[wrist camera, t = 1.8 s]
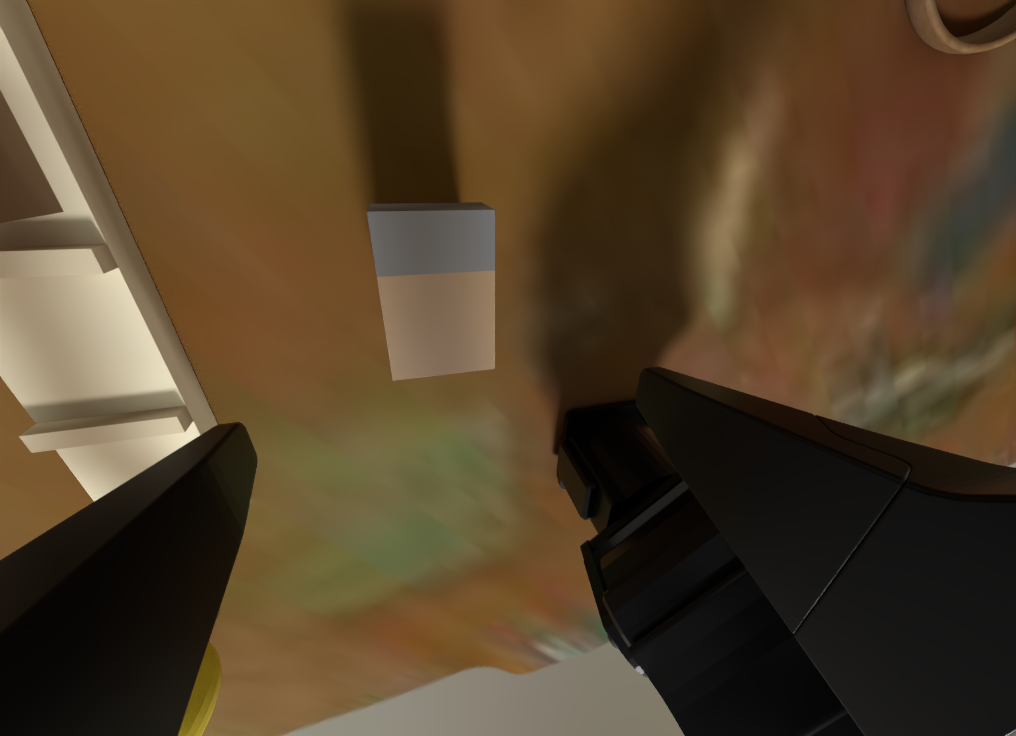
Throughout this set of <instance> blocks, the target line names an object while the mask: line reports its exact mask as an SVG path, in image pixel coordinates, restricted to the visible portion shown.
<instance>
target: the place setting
mask: <svg viewBox="0 0 1016 736" xmlns="http://www.w3.org/2000/svg"><path fill="white" fill-rule="evenodd" d="M905 7H906V10H907V13H908V17H909V20H910V22H911V24H912V26H913V28H914V30H915V32H916V33H917V34H918V35H919V37H920V38H921V39H922V40H923V41H924V42H925V43H927V44H928V45H929V46H931V47H932V48H934V49H936V50H939V51H942V52H945V53H953V54H970V53H976V52H982V51H988V50H991V49H994V48H996V47H999V46H1002V45H1004V44H1005V43H1007V42H1009V41H1011V40H1013V39H1015V38H1016V5H1015V6H1014V7H1013V8H1011V9H1010V10H1009V11H1008V12H1007V13H1005V14H1004V15H1003V16H1002V17H1000V18H999V19H998V20H996V21H995V22H993V23H992V24H990V25H989V26H987V27H985V28H983V29H981V30H979V31H977V32H975V33H972V34H969V35H966V36H961V37H954V36H953V35H952V34H950V32H949V31H948V30H947V28H946V27H945V26H944V24H943V22H942V20H941V18H940V16H939V13H938V10H937V6H936V2H935V0H905Z"/></svg>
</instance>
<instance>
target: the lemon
mask: <svg viewBox="0 0 1016 736" xmlns="http://www.w3.org/2000/svg"><path fill="white" fill-rule="evenodd" d="M220 683H221V663H220V659H219V656H218V653H217V651H216V649H215V648H214V647H213V646H212V645H211V644H210V642H208V645H207V648H206V651H205V654H204V657H203V660H202V664H201V667H200V670H199V673H198V676H197V679H196V682H195V685H194V688H193V691H192V694H191V697H190V700H189V703H188V706H187V710H186V713H185V716H184V719H183V722H182V725H181V728H180V731H179V734H178V736H201V735H202V734H203V732H204V730H205V728H206V726H207V724H208V721H209V719H210V717H211V714H212V712H213V709H214V706H215V703H216V700H217V696H218V692H219V688H220Z"/></svg>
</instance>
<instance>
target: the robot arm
mask: <svg viewBox="0 0 1016 736" xmlns="http://www.w3.org/2000/svg"><path fill="white" fill-rule="evenodd" d="M635 399H636V400H633V401H626V402H620V403H613V404H607V405H600V406H594V407H587V408H581V409H574V410H571V411H569V412H568V413H567V414H566V416H565V423H564V432H563V441H561V443H560V446H559V455H558V464H557V473H558V475H559V476H558V483H559V485H560V487H561V488H563V489H566V490H567V492H568V494H569V496H570V498H571V500H572V502H573V503H574V505H575V507H576V509H577V511H578V513H579V515H580V517H581V518H583V519H584V520H588V519H590V520H591V522H592V523H593V525H594V527H595V529H596V531H597V532H598V534H597V535H596V536H595V537H594V538H592V539H591V540H590V541H589V540H587V541H586V542H585V543H583V544H582V545H581V546H580V548H581V551H582V554H583V558H584V564H585V567H586V571H587V574H588V577H589V581H590V584H591V587H592V591H593V594H594V597H595V601H596V604H597V607H598V611H599V614H600V617H601V621H602V624H603V627H604V629H605V631H606V632H607V635H608V638H609V640H610V642H611V644H612V645H613V646H614V647H615V648H617V649H619V650H620V651H621V653H622V654H623V655H624V657H625V658H626V659H627V661H628V662H629V663H630V664H631V665H632V666H633V667H634V669H636V670H637V671H638V672H639V673H640V674H641V675H643V676H645V677H648V678H649V679H650V681H651V682H652V683H653V685H654V686H655V688H656V689H657V691H658V692H659V694H660V695H661V697H662V698H663V700H664V701H665V703H666V705H667V706H668V708H669V710H670V711H671V713H672V714H673V716H674V718H675V720H676V721H677V723H678V725H679V727H680V728H681V730H682V731H683V733H684V735H685V736H1016V468H1013V467H1007V466H1001V465H996V464H991V463H987V462H983V461H979V460H975V459H971V458H968V457H964V456H960V455H957V454H953V453H949V452H945V451H942V450H938V449H934V448H930V447H927V446H923V445H919V444H916V443H912V442H908V441H904V440H901V439H897V438H893V437H890V436H886V435H883V434H879V433H876V432H872V431H868V430H865V429H861V428H858V427H855V426H851V425H848V424H845V423H841V422H838V421H834V420H831V419H828V418H825V417H821V416H818V415H815V416H814V415H813V414H811V413H808V412H805V411H802V410H798V409H795V408H792V407H789V406H785V405H782V404H779V403H776V402H772V401H769V400H766V399H763V398H759V397H756V396H753V395H750V394H746V393H743V392H740V391H736V390H733V389H730V388H727V387H723V386H720V385H717V384H714V383H710V382H707V381H704V380H701V379H697V378H694V377H691V376H688V375H684V374H681V373H678V372H675V371H671V370H668V369H665V368H661V367H651V368H645V369H643V370H642V371H641V373H640V377H639V381H638V386H637V391H636V396H635ZM575 416H576V417H575ZM573 417H575V418H574V419H572V418H573ZM256 468H257V455H256V452H255V449H254V447H253V444H252V442H251V439H250V437H249V434H248V432H247V430H246V428H245V426H244V425H243V424H242V423H240V422H234V423H227V424H219V425H216V426H214V427H213V428H211V429H209V430H208V431H206V432H205V433H203V434H201V435H200V436H198V437H197V438H195V439H193V440H192V441H190V442H189V443H187V444H185V445H184V446H182V447H181V448H179V449H177V450H176V451H174V452H173V453H171V454H169V455H168V456H166V457H165V458H163V459H161V460H160V461H158V462H157V463H155V464H153V465H152V466H150V467H149V468H147V469H145V470H144V471H142V472H141V473H139V474H137V475H136V476H134V477H133V478H131V479H129V480H128V481H126V482H125V483H123V484H121V485H120V486H118V487H117V488H115V489H113V490H112V491H110V492H109V493H107V494H106V495H104V496H102V497H101V498H99V499H98V500H96V501H94V502H93V503H91V504H90V505H88V506H86V507H85V508H83V509H82V510H80V511H78V512H77V513H75V514H74V515H72V516H70V517H69V518H67V519H66V520H64V521H62V522H61V523H59V524H58V525H56V526H54V527H53V528H51V529H50V530H48V531H46V532H45V533H43V534H42V535H40V536H38V537H37V538H35V539H34V540H32V541H30V542H29V543H27V544H26V545H24V546H22V547H21V548H19V549H18V550H16V551H14V552H13V553H11V554H10V555H8V556H6V557H5V558H3V559H2V560H0V736H178V734H179V731H180V728H181V725H182V722H183V719H184V716H185V713H186V710H187V706H188V703H189V700H190V697H191V694H192V691H193V688H194V685H195V682H196V679H197V676H198V673H199V670H200V667H201V664H202V660H203V657H204V654H205V651H206V648H207V645H208V642H209V639H210V636H211V633H212V630H213V627H214V624H215V621H216V618H217V615H218V611H219V608H220V605H221V602H222V599H223V596H224V593H225V590H226V587H227V584H228V581H229V578H230V575H231V572H232V569H233V565H234V562H235V559H236V556H237V553H238V550H239V547H240V544H241V540H242V537H243V534H244V529H245V525H246V520H247V515H248V510H249V504H250V499H251V494H252V489H253V484H254V478H255V473H256Z"/></svg>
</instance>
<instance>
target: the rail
mask: <svg viewBox="0 0 1016 736" xmlns="http://www.w3.org/2000/svg"><path fill="white" fill-rule="evenodd" d="M0 376H1V378H2V379H3V380H4V382H5V383H6V384H7V386H8V387H9V388H10V390H11V391H12V392H13V394H14V395H15V396H16V398H17V399H18V400H19V402H20V403H21V404H22V406H23V407H24V408H25V410H26V411H27V412H28V414H29V415H30V416H31V418H32V419H33V420H34V422H35V423H36V424H34V425H33V426H32V427H31V428H29V429H28V430H27V431H25V432H24V433H23V434H21V435H20V436H19V437H20V439H21V440H22V441H23V442H24V444H25V445H26V446H27V447H28V449H29V450H30V451H31V452H32V453H34V452H41V451H49V450H56V451H57V452H58V454H59V455H60V457H61V458H62V459H63V461H64V462H65V463H66V465H67V466H68V467H69V469H70V470H71V471H72V473H73V474H74V475H75V477H76V478H77V479H78V481H79V482H80V483H81V485H82V486H83V487H84V489H85V490H86V491H87V493H88V494H89V495H90V497H91V498H92V499H93V501H96V500H98V499H99V498H101V497H102V496H104V495H106V494H107V493H109V492H110V491H112V490H113V489H115V488H117V487H118V486H120V485H121V484H123V483H125V482H126V481H128V480H129V479H131V478H133V477H134V476H136V475H137V474H139V473H141V472H142V471H144V470H145V469H147V468H149V467H150V466H152V465H153V464H155V463H157V462H158V461H160V460H161V459H163V458H165V457H166V456H168V455H169V454H171V453H173V452H174V451H176V450H177V449H179V448H181V447H182V446H184V445H185V444H187V443H189V442H190V441H192V440H193V439H195V438H197V437H198V436H200V435H201V434H203V433H205V432H206V431H208V430H209V429H211V428H213V427H214V426H216V425H218V424H217V422H216V419H215V417H214V415H213V413H212V411H211V408H210V406H209V404H208V402H207V400H206V397H205V395H204V393H203V391H202V388H201V386H200V384H199V382H198V380H197V377H196V375H195V373H194V371H193V369H192V366H191V364H190V362H189V360H188V358H187V355H186V353H185V351H184V349H183V346H182V344H181V342H180V340H179V338H178V335H177V333H176V331H175V329H174V327H173V324H172V322H171V320H170V318H169V315H168V313H167V311H166V309H165V307H164V304H163V302H162V300H161V298H160V296H159V293H158V291H157V289H156V287H155V284H154V282H153V280H152V278H151V276H150V273H149V271H148V269H147V267H146V265H145V262H144V260H143V258H142V256H141V253H140V251H139V249H138V247H137V245H136V242H135V240H134V238H133V236H132V234H131V231H130V229H129V227H128V225H127V222H126V220H125V218H124V216H123V214H122V211H121V209H120V207H119V205H118V203H117V200H116V198H115V196H114V194H113V191H112V189H111V187H110V185H109V183H108V180H107V178H106V176H105V174H104V172H103V169H102V167H101V165H100V163H99V160H98V158H97V156H96V154H95V152H94V149H93V147H92V145H91V143H90V141H89V138H88V136H87V134H86V132H85V129H84V127H83V125H82V123H81V121H80V118H79V116H78V114H77V112H76V110H75V107H74V105H73V103H72V101H71V98H70V96H69V94H68V92H67V90H66V87H65V85H64V83H63V81H62V79H61V76H60V74H59V72H58V70H57V67H56V65H55V63H54V61H53V59H52V56H51V54H50V52H49V50H48V48H47V45H46V43H45V41H44V39H43V37H42V34H41V32H40V30H39V28H38V25H37V23H36V21H35V19H34V17H33V14H32V12H31V10H30V8H29V6H28V3H27V1H26V0H0ZM251 500H252V499H250V503H251ZM249 505H250V504H249Z"/></svg>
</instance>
